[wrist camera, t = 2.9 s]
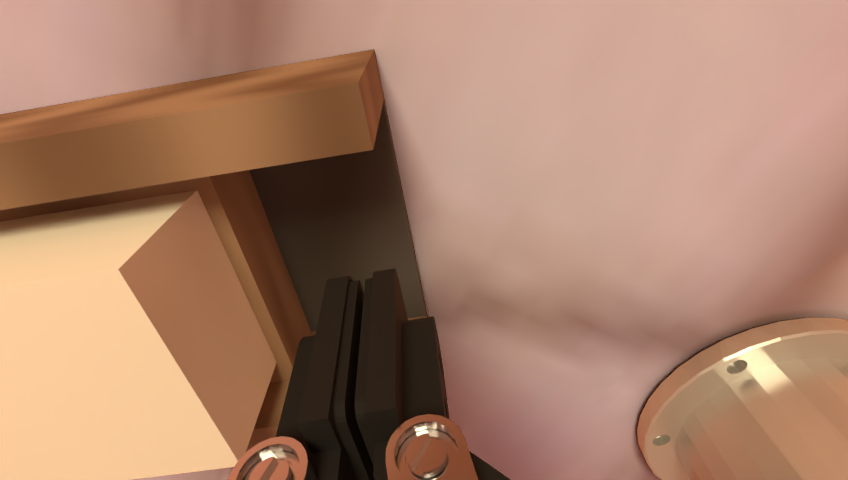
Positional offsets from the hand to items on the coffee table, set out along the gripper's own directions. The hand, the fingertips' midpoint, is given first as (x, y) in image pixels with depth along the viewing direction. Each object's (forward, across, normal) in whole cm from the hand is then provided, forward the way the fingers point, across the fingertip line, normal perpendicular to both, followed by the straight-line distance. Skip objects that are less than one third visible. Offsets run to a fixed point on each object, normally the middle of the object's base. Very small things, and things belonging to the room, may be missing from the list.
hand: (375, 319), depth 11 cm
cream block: (+4, +8, +1) cm, 9 cm away
